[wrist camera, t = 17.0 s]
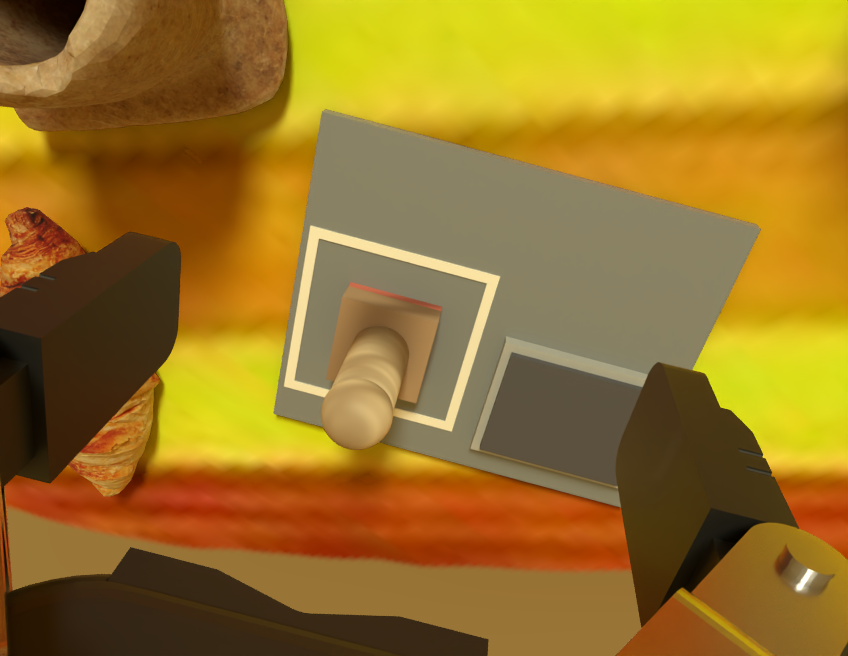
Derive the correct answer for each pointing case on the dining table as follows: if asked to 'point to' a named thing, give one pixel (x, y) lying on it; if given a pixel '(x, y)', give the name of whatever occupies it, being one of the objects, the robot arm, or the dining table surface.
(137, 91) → the tan boot
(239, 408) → the dining table surface
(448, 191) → the desk board
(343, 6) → the dining table surface
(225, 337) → the dining table surface
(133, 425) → the croissant
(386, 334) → the stamp
